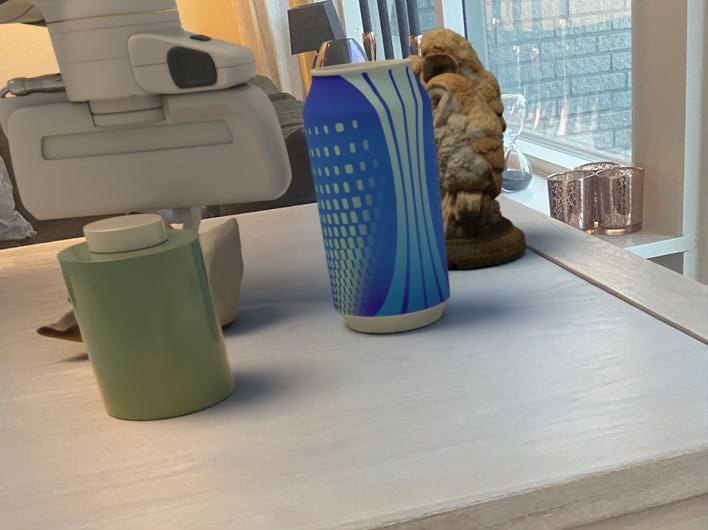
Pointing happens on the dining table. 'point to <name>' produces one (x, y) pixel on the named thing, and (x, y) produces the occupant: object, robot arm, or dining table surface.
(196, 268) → the green lidded jar
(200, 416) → the dining table surface
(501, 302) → the dining table surface
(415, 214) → the beer can
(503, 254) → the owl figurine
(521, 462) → the dining table surface
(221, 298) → the ceramic sculpture
